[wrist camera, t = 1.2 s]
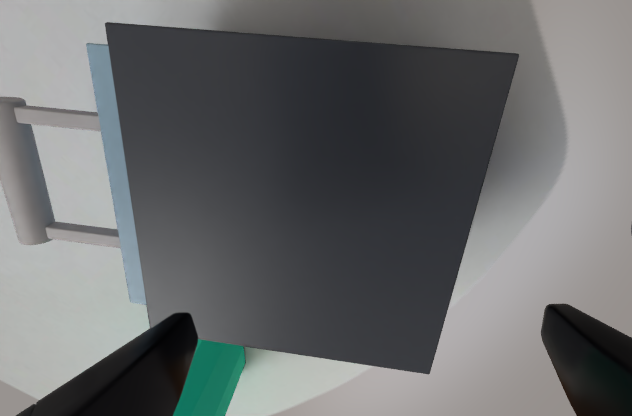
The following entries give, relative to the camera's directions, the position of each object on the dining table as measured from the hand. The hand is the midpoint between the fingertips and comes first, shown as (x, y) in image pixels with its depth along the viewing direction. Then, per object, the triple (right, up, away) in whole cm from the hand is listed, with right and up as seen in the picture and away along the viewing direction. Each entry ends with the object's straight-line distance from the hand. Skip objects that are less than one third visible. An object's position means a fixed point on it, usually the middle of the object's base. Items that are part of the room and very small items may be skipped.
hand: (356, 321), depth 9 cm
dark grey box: (-1, +6, +11) cm, 12 cm away
